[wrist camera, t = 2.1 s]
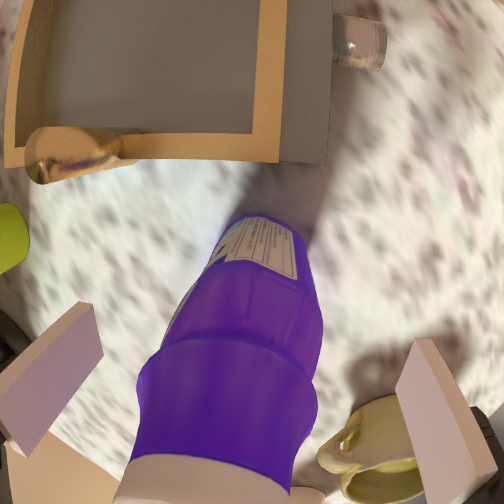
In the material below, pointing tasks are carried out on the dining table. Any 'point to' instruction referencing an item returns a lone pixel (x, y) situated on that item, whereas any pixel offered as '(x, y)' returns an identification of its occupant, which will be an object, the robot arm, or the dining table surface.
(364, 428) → the mug
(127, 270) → the dining table surface
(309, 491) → the mug
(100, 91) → the grey and tan box
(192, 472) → the bottle
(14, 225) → the soap dispenser
